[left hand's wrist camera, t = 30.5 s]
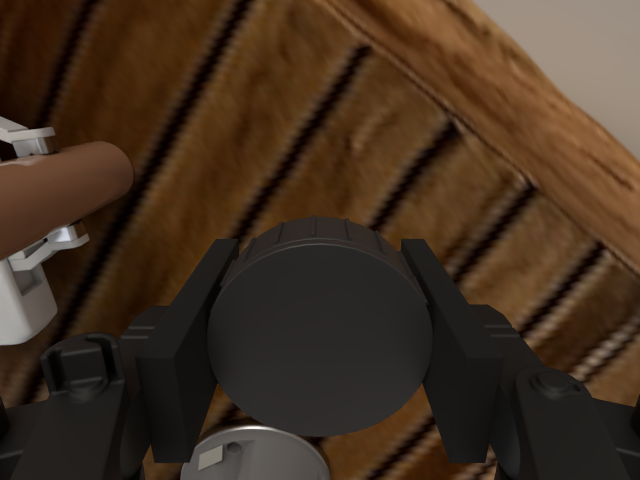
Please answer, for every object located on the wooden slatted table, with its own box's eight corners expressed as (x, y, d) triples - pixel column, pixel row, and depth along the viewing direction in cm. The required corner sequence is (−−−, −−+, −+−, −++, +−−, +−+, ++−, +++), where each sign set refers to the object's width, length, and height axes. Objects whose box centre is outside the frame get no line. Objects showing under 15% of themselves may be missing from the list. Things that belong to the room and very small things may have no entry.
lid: (453, 261, 12) (480, 296, 10) (364, 409, 13) (372, 463, 11) (264, 181, 11) (251, 201, 9) (197, 349, 13) (174, 397, 11)
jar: (146, 172, 32) (-29, 255, 16) (109, 211, 33) (-90, 326, 17) (97, 127, 31) (-145, 167, 15) (61, 169, 32) (-202, 249, 16)
